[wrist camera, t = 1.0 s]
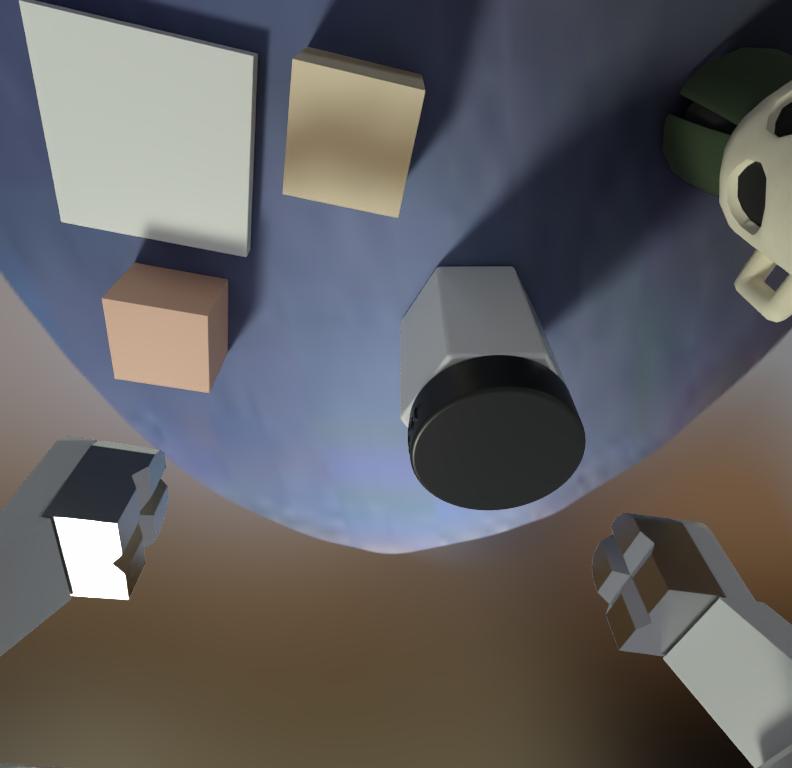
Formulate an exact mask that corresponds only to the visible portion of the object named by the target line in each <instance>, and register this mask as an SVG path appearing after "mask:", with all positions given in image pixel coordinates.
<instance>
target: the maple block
mask: <svg viewBox="0 0 792 768" xmlns="http://www.w3.org/2000/svg"><path fill="white" fill-rule="evenodd" d="M424 95H425V86H424V82H423V78H422V74H418V73H413V72H409V71H405V70H401V69H397V68H393V67H389V66H385V65H381V64H377V63H372V62H368V61H364V60H360V59H356V58H352V57H348V56H344V55H340V54H335V53H331V52H327V51H323V50H319V49H315V48H311V47H307V48H305V49H304V50H303V51H302V52H300V53H299V54H298V55H297V56H295V57H294V58H293V60H292V74H291V87H290V101H289V114H288V128H287V141H286V155H285V168H284V182H283V194H285V195H290V196H294V197H299V198H304V199H309V200H314V201H319V202H323V203H328V204H333V205H338V206H343V207H348V208H352V209H357V210H362V211H367V212H372V213H376V214H381V215H386V216H391V217H396V218H398V216H399V211H400V206H401V202H402V197H403V193H404V188H405V183H406V179H407V174H408V169H409V165H410V160H411V155H412V151H413V146H414V142H415V137H416V132H417V128H418V123H419V118H420V114H421V109H422V105H423V100H424Z"/></svg>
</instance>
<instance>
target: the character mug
mask: <svg viewBox="0 0 792 768" xmlns="http://www.w3.org/2000/svg"><path fill="white" fill-rule="evenodd" d="M680 95H682V96H684V97H686V98H688V99H690V100H692V101H694V102H693V103H692V104H691V105H690V106H689V108H688V109H687V111H686V115H685V119H681V118H679V117H676V116H673V115H671V114H668V116H667V118H666V120H665V123H664V135H663V147H662V149H663V152H664V154H665V157H666V159H667V161H668V164H669V166H670V169H671V171H672V173H674V174H676V175H677V176H679V177H680V178H682V179H683V180H685V181H686V182H688V183H689V184H691V185H692V186H694V187H696V188H698V189H701V190H703V191H705V192H707V193H709V194H712V195H715V196H718V197H719V203H720V205H721V208H722V210H723V212H724V215H725V217H726V219H727V221H728V224H729V226H730V227H731V228H732V229H733V231H735V232H736V233H737V234H738V235H739V236H741V237H742V238H743V239H744V240H746V241H747V242H748V243H749V244H751V245H752V246H753V247H755V248H756V250H755V252H754V253H753V254H752V256H751V257H750V259H749V260H748V261H747V263H746V264H745V266H744V267H743V268H742V270H741V271H740V272H739V274H738V276H737V278H736V280H735V283H734V285H735V287H736V290H737V291H738V292H739V293H740V294H741V295H742V296H743V297H744V298H745V299H746V300H747V301H748V302H749V303H750V304H751V305H752V306H753V307H754V308H756V309H757V310H758V311H759V312H760V313H761V314H762V315H763V316H764V317H765V318H766V319H767V320H770V321H773V322H780V321H783V320H785V319H787V318H788V317H789V316H791V315H792V55H789V54H787V53H785V52H782V51H780V50H778V49H770V48H751V47H742V48H740V49H737V50H735V51H733V52H730V53H728V54H726V55H724V56H721V57H719V58H717V59H714V60H712V61H710V62H709V63H708V64H706V65H705V66H704V67H703V68H702V69H701V70H700V71H699V72H698V73H697V74H696V75H695V76H693V77H692V78H691V79H690V80H689V81H688V82H687V83H686V84H685V85H684V86H683V88H682V90H681V92H680ZM776 265H779V266H780V267H782V268H783V269H784V270H786V271H787V272H788V273H789V275H788V277H787V278H786V279H785V280H784V282H783V283H782V284H781V286H780V287H779V288H778V289H777V291H776V292H775V291H774V290H773V289H771V288H770V287H769V286H768V285H767V284H765V280H766V278H767V276H768V275H769V274H770V273H771V271H772V270H773V269H774V267H775V266H776Z"/></svg>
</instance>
